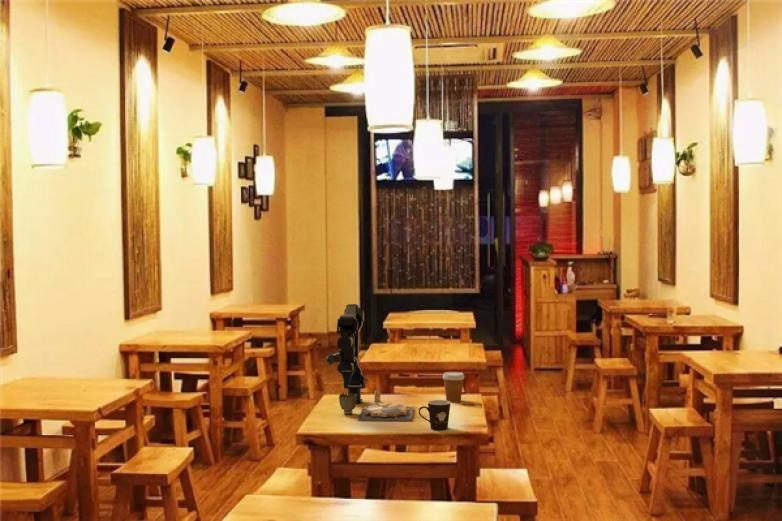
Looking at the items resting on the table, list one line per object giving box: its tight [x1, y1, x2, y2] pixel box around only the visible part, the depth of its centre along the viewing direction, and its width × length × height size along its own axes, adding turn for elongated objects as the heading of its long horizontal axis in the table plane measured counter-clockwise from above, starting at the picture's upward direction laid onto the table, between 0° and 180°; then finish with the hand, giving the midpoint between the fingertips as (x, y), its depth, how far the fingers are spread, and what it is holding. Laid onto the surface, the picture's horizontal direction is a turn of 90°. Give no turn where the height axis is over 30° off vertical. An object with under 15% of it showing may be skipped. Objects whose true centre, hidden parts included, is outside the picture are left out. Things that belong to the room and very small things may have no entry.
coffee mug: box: [418, 399, 451, 432], centre depth 322 cm, size 12×9×10 cm
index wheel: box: [364, 390, 410, 417], centre depth 345 cm, size 20×19×6 cm
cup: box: [338, 392, 357, 415], centre depth 347 cm, size 8×7×8 cm
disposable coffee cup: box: [442, 371, 465, 403], centre depth 369 cm, size 10×10×12 cm
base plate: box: [357, 405, 415, 422], centre depth 345 cm, size 21×21×1 cm
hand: (347, 384), depth 346 cm, fingers open, 9 cm apart
